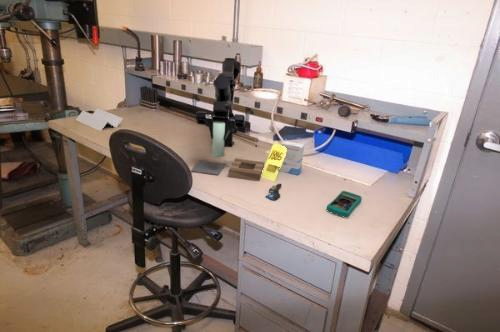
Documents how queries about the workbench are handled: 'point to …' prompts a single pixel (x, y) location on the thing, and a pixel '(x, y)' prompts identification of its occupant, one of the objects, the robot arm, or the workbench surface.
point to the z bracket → (99, 119)
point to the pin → (218, 139)
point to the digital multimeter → (344, 203)
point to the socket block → (246, 169)
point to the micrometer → (274, 192)
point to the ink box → (293, 158)
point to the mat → (208, 167)
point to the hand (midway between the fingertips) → (218, 139)
